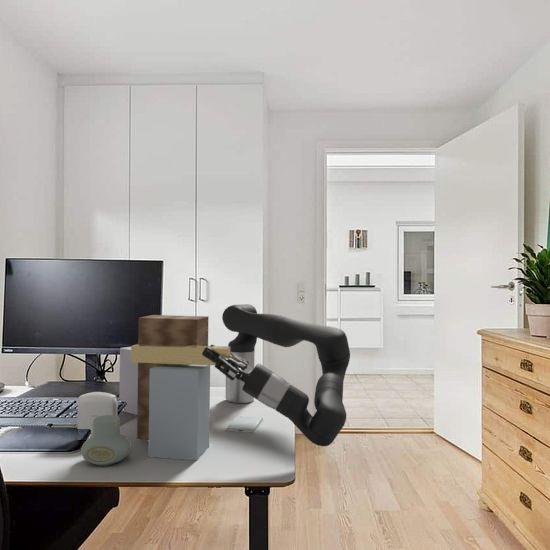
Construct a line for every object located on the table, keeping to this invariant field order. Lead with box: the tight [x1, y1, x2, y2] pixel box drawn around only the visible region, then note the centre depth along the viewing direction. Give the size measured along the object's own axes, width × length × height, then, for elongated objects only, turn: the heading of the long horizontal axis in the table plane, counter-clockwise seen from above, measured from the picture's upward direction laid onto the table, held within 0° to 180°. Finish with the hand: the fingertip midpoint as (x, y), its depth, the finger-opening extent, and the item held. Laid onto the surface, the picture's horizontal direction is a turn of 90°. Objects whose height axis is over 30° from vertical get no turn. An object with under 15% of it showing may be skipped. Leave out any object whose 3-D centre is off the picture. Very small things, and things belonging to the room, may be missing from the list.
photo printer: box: [76, 391, 118, 437], centre depth 136 cm, size 10×4×12 cm, turn 90°
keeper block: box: [148, 363, 211, 461], centre depth 128 cm, size 12×10×21 cm
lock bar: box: [130, 343, 230, 366], centre depth 128 cm, size 24×4×4 cm, turn 81°
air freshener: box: [80, 415, 132, 467], centre depth 121 cm, size 11×8×10 cm
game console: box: [118, 346, 138, 416], centre depth 159 cm, size 6×27×20 cm, turn 53°
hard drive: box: [225, 415, 263, 434], centre depth 151 cm, size 2×8×12 cm
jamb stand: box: [136, 314, 209, 442], centre depth 140 cm, size 16×10×32 cm, turn 81°
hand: (207, 349), depth 127 cm, fingers closed on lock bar, 4 cm apart
